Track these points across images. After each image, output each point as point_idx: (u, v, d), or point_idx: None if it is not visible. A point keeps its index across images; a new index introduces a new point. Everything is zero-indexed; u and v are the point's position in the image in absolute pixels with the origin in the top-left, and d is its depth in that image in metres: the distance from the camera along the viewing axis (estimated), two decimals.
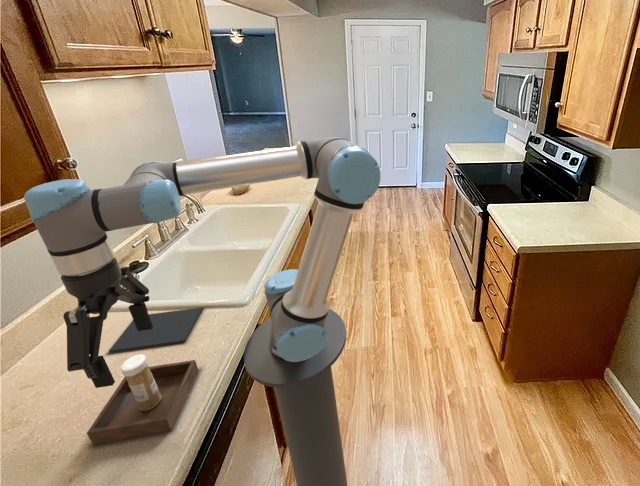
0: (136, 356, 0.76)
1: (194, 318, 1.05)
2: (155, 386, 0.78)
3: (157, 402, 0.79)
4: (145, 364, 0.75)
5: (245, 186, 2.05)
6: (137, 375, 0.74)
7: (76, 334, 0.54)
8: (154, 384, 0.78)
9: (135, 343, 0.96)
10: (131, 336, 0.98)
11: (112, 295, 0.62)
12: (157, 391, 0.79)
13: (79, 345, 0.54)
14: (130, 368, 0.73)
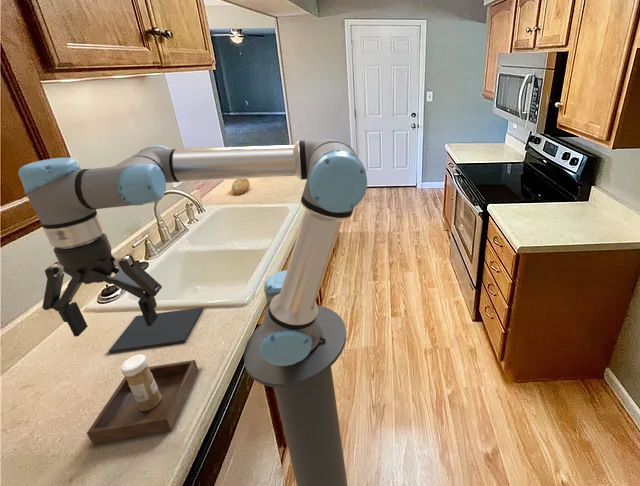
0: (136, 356, 0.76)
1: (194, 318, 1.05)
2: (155, 386, 0.78)
3: (157, 402, 0.79)
4: (145, 364, 0.75)
5: (245, 186, 2.05)
6: (137, 375, 0.74)
7: (139, 270, 0.67)
8: (154, 384, 0.78)
9: (135, 343, 0.96)
10: (131, 336, 0.98)
11: None
12: (157, 391, 0.79)
13: (147, 275, 0.68)
14: (130, 368, 0.73)
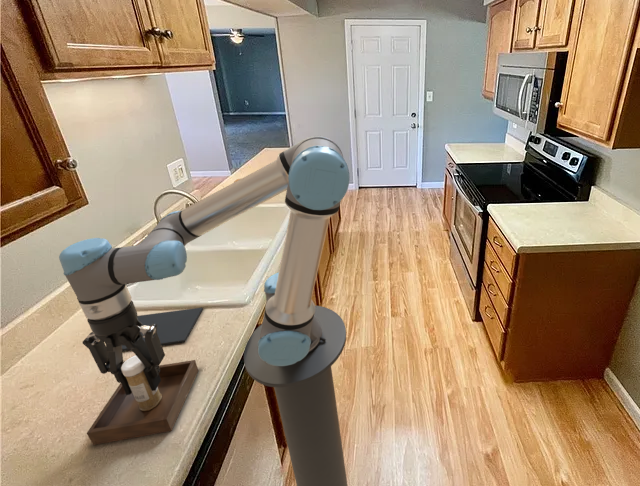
0: (136, 356, 0.76)
1: (194, 318, 1.05)
2: None
3: (157, 402, 0.79)
4: None
5: None
6: (137, 375, 0.74)
7: (156, 340, 0.74)
8: None
9: None
10: None
11: None
12: (157, 391, 0.79)
13: (159, 345, 0.75)
14: (130, 368, 0.73)
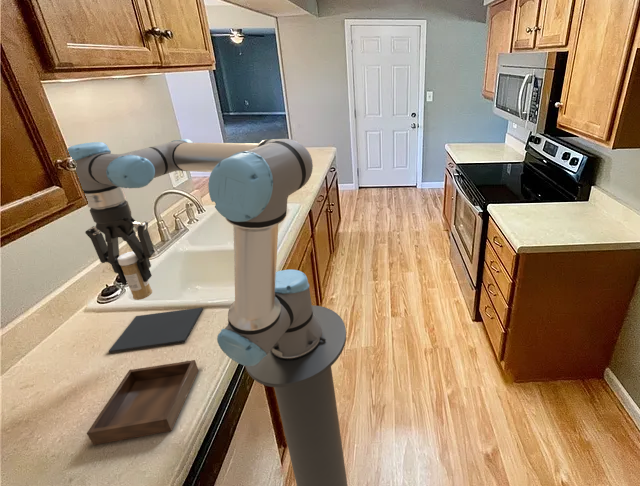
0: (130, 252, 0.90)
1: (194, 318, 1.05)
2: None
3: (148, 294, 0.93)
4: None
5: None
6: (131, 265, 0.88)
7: (147, 236, 0.88)
8: None
9: (135, 343, 0.96)
10: (131, 336, 0.98)
11: None
12: (148, 285, 0.93)
13: (150, 241, 0.89)
14: (125, 258, 0.87)
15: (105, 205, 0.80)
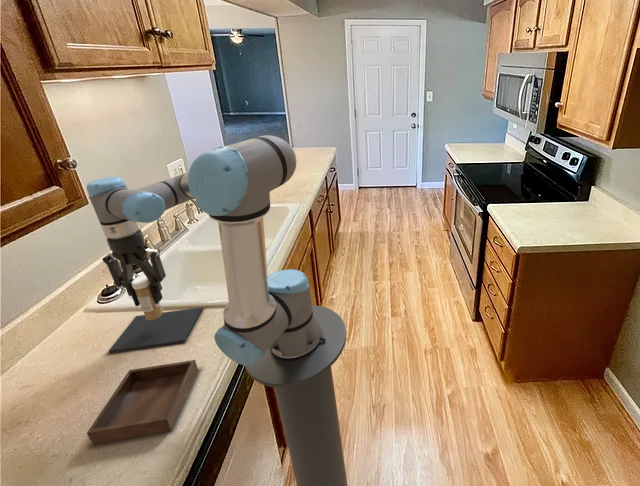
0: (143, 276, 0.96)
1: (194, 318, 1.05)
2: None
3: (159, 314, 0.99)
4: None
5: None
6: (144, 289, 0.94)
7: (159, 261, 0.94)
8: None
9: (135, 343, 0.96)
10: (131, 336, 0.98)
11: None
12: (159, 306, 0.99)
13: (161, 266, 0.95)
14: (138, 282, 0.93)
15: (121, 235, 0.86)
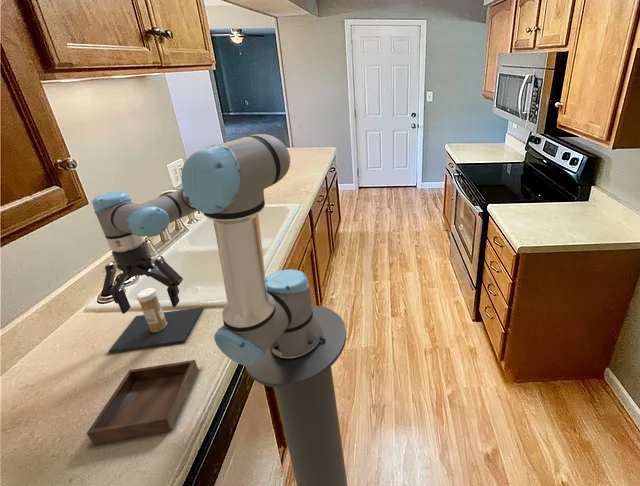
0: (148, 289, 0.98)
1: (194, 318, 1.05)
2: (162, 313, 1.00)
3: (164, 326, 1.01)
4: (155, 294, 0.97)
5: None
6: (149, 302, 0.96)
7: (168, 267, 0.95)
8: (161, 312, 1.00)
9: (135, 343, 0.96)
10: (131, 336, 0.98)
11: None
12: (164, 318, 1.01)
13: (173, 271, 0.96)
14: (143, 296, 0.95)
15: (126, 248, 0.88)
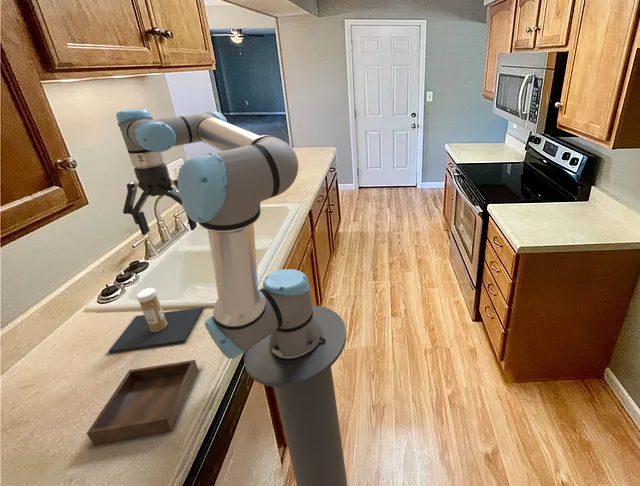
0: (148, 289, 0.98)
1: (194, 318, 1.05)
2: (162, 313, 1.00)
3: (164, 326, 1.01)
4: (155, 294, 0.97)
5: None
6: (149, 302, 0.96)
7: None
8: (161, 312, 1.00)
9: (135, 343, 0.96)
10: (131, 336, 0.98)
11: None
12: (164, 318, 1.01)
13: None
14: (143, 296, 0.95)
15: (148, 164, 0.91)
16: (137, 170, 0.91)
